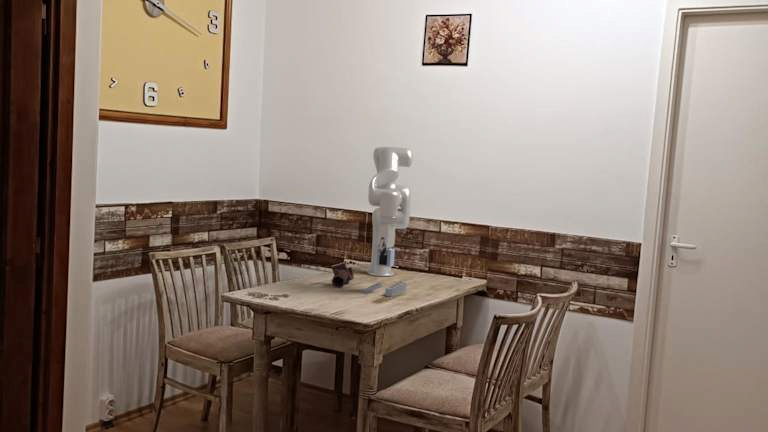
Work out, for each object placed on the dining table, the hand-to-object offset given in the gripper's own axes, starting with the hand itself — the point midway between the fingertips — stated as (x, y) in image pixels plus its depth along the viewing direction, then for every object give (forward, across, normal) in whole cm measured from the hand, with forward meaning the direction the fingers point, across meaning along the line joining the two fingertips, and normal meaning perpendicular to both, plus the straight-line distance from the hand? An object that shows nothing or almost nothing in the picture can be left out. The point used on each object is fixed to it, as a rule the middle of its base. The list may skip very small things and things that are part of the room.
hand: (385, 263), depth 324 cm
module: (+1, 0, 0) cm, 1 cm away
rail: (+12, 0, 0) cm, 12 cm away
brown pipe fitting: (+12, -3, -20) cm, 24 cm away
